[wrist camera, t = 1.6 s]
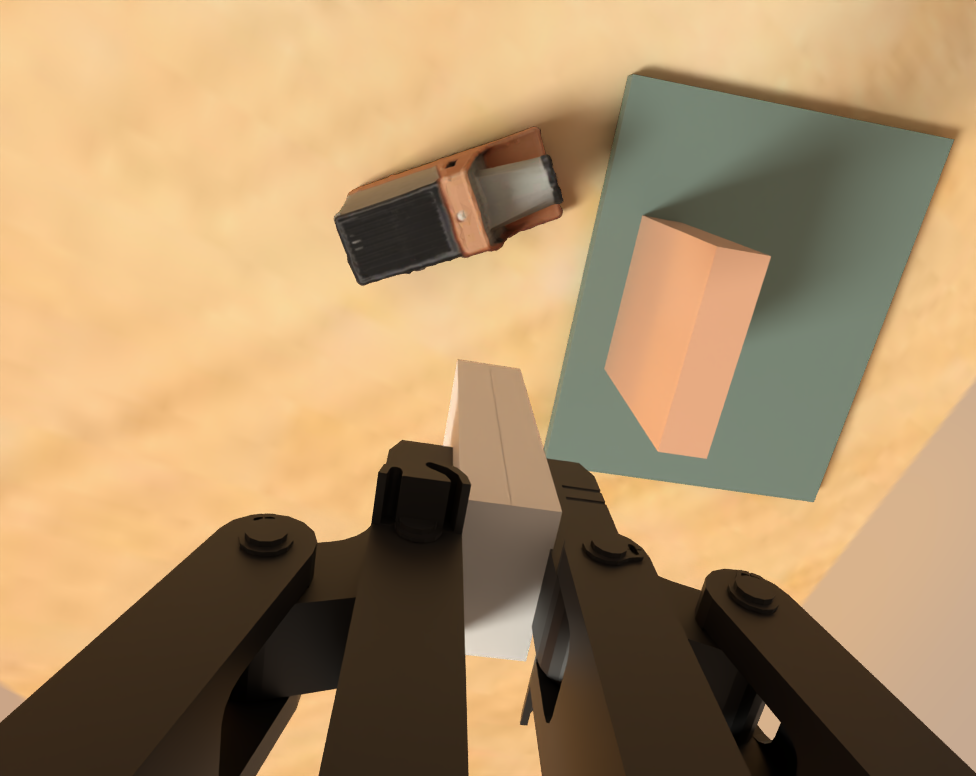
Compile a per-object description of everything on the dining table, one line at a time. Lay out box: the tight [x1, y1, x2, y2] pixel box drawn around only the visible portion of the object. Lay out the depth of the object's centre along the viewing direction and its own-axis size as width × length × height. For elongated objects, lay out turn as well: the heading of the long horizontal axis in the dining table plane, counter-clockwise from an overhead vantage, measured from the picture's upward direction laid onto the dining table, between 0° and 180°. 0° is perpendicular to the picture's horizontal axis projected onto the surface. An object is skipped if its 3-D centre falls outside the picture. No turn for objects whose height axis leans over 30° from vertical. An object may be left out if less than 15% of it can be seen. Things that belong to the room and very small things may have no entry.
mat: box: [544, 74, 954, 502], centre depth 35 cm, size 20×16×1 cm
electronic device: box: [334, 127, 563, 286], centre depth 30 cm, size 4×10×8 cm, turn 108°
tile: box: [604, 215, 771, 459], centre depth 30 cm, size 8×2×10 cm, turn 170°
